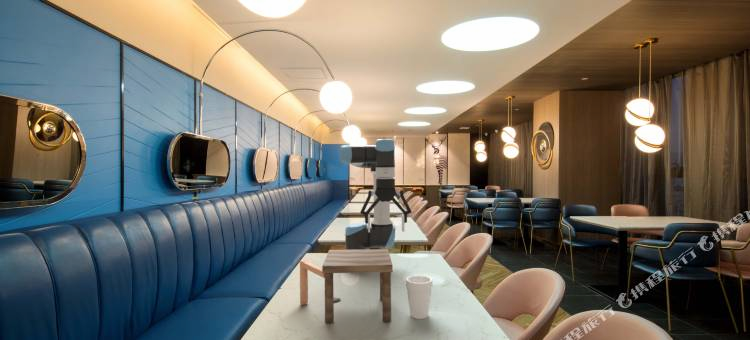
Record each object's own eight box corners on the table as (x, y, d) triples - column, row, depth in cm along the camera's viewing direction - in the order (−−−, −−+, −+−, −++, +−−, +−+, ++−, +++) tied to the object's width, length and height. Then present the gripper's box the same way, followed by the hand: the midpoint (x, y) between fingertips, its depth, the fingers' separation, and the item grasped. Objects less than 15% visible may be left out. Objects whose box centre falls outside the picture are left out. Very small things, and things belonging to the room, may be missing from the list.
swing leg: (330, 317, 127) (329, 270, 127) (322, 319, 125) (322, 272, 125) (305, 300, 142) (305, 259, 142) (298, 302, 141) (298, 261, 141)
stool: (328, 298, 147) (328, 249, 147) (388, 297, 148) (387, 248, 147) (321, 324, 122) (320, 266, 122) (392, 322, 123) (392, 264, 123)
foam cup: (417, 307, 136) (417, 273, 136) (437, 314, 129) (437, 279, 129) (400, 315, 129) (400, 279, 129) (421, 323, 123) (420, 285, 123)
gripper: (353, 179, 138) (354, 233, 139) (418, 178, 138) (418, 232, 139) (354, 178, 145) (355, 230, 146) (415, 177, 146) (416, 228, 147)
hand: (386, 231), depth 143 cm, fingers open, 13 cm apart
